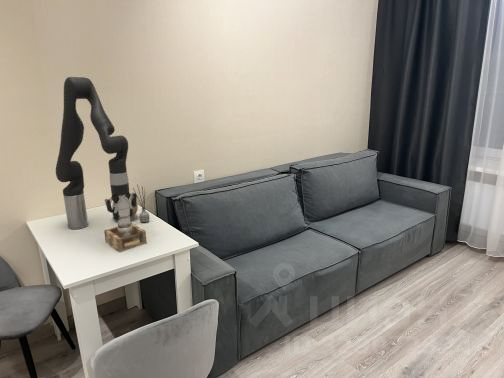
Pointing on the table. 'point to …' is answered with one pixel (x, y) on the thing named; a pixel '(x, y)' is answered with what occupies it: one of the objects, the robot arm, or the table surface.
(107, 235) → the caddy
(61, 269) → the table surface
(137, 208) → the fossilized egg
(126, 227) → the metal bottle
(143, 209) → the reed diffuser
